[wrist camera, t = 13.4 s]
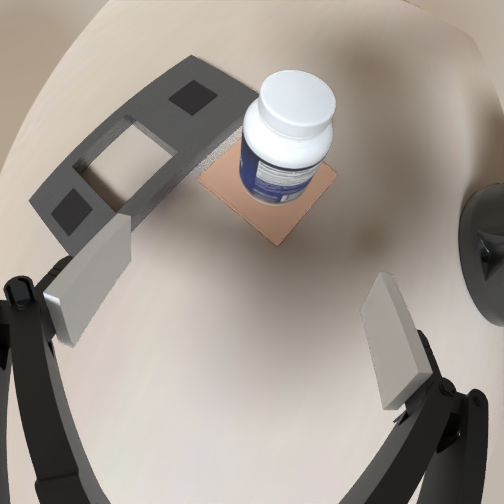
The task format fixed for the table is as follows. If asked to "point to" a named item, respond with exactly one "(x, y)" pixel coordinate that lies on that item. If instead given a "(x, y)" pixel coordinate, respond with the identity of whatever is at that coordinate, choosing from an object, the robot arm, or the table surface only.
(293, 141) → the pill bottle
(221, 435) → the table surface
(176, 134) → the holder
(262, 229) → the coaster
